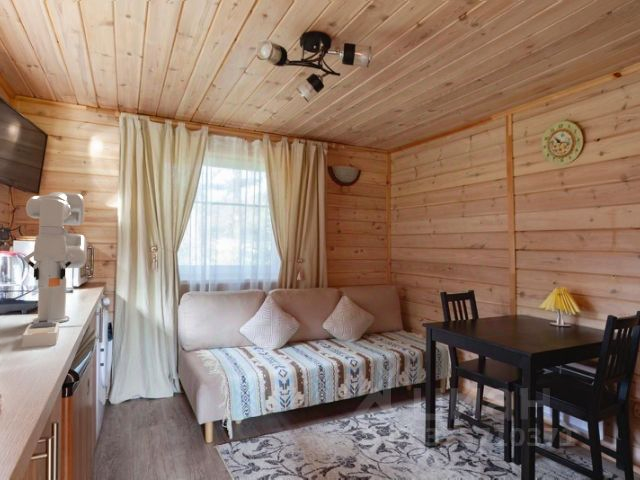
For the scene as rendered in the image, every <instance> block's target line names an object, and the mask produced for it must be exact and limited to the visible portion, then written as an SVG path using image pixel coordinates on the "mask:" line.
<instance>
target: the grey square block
mask: <svg viewBox="0 0 640 480" xmlns="http://www.w3.org/2000/svg"><path fill="white" fill-rule="evenodd" d="M32 324H33V329H35V328H49V327H53V320H48V319H40V320H38V321H34V323H32Z"/></svg>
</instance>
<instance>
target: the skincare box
mask: <svg viewBox="0 0 640 480" xmlns="http://www.w3.org/2000/svg"><path fill="white" fill-rule="evenodd" d="M38 268H39V274H38V280H37V288H38V289H39V288H43V289H48V288H58V287H60V283H61V269H62V268H61V264H60V263H59V262H54V261H53V257H52V256H44V259H43V261H42V262H40V264H39V267H38Z"/></svg>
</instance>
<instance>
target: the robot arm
mask: <svg viewBox="0 0 640 480" xmlns="http://www.w3.org/2000/svg"><path fill="white" fill-rule="evenodd" d="M85 206H86V205H85V200H84V197H83V196H82V195H81V194H80V193H76V192H64V191H54V192H50V193H49V194H46V195H35V196H31V197H30V198H29V199H28V200H27V202H26V205H25V211H26V215H27V216H28V217H29V218H31V219H39V220H38V223H39V225H38V234H37V235H36V237H35V241H34V248H33V251H32V252H30V253H29V254H28V255H26V256H24V257H23V260H24V261H25V262H26V264H27V265H29V266H30V267H31V268H32V269H33V278H35V281H38V274H39V264H40V262H42V261H43V259H44V256H52V257H53V261H54V262H59V263H60V264H61V283H60V287H58V288H48V289H43V288H38V293H37V294H38V296H37V297H38V299H37V301H38V302H37V317H35V318H33V319H32V322H33V323H34V321H38V320H40V319H48V320H53V323H58V322H59V324H60V323H65V322H67V321H70V316H68V315H66V301H67V300H66V298H67V277H66V269H80V268H83V267H84V266H85V265H86V263H87V258H88V256H87V255H88V254H87V253H88V251H87V248H88V247H87V239H86V237H85V236H84V235H83V234H80V233H69V230H68V229H66V228H65V227H64V226H81V225H83V223H84V222H85V213H86V211H85ZM32 257H33V261H35V263H34V262H33V261H32V260H31V258H32ZM33 323H32V324H33Z"/></svg>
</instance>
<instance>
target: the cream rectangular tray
mask: <svg viewBox="0 0 640 480" xmlns="http://www.w3.org/2000/svg"><path fill="white" fill-rule="evenodd" d="M59 334H60V323H59V322H58V323H53V327H49V328H35V329H33V323H30V324H28V325H27V327H26V328H25V331H24V332H23V334H22V338H21V339H22V340H21V341H22V345H21V346H22V349H23V348H34V347H44V346H55V345H57V342H58V339H59Z"/></svg>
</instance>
